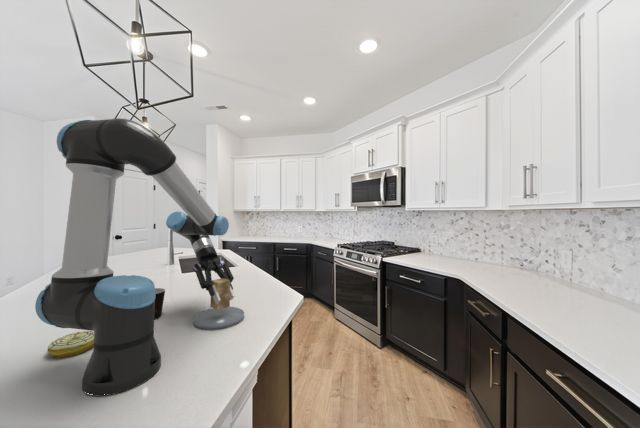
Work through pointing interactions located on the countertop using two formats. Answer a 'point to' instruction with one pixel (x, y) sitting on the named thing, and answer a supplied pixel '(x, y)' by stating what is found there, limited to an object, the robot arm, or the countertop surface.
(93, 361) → the robot arm
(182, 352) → the countertop surface
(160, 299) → the coffee mug
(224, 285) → the oak block
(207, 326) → the dish
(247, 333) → the countertop surface
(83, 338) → the decorated donut
